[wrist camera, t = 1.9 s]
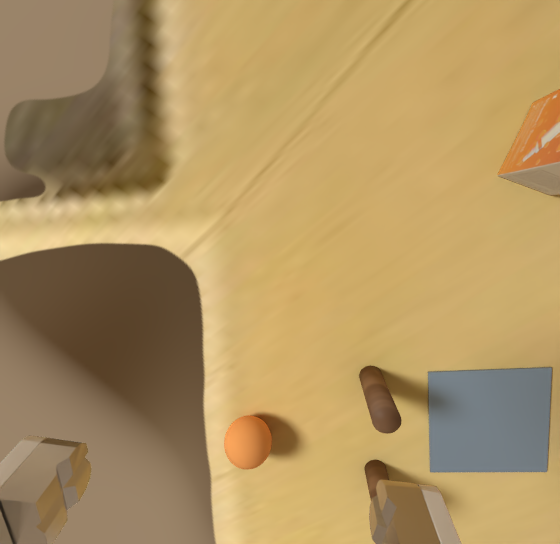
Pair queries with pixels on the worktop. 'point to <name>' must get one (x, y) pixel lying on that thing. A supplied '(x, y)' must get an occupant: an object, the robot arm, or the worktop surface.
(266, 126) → the worktop surface
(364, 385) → the post
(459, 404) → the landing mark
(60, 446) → the robot arm
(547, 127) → the small box
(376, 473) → the post
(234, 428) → the ball
